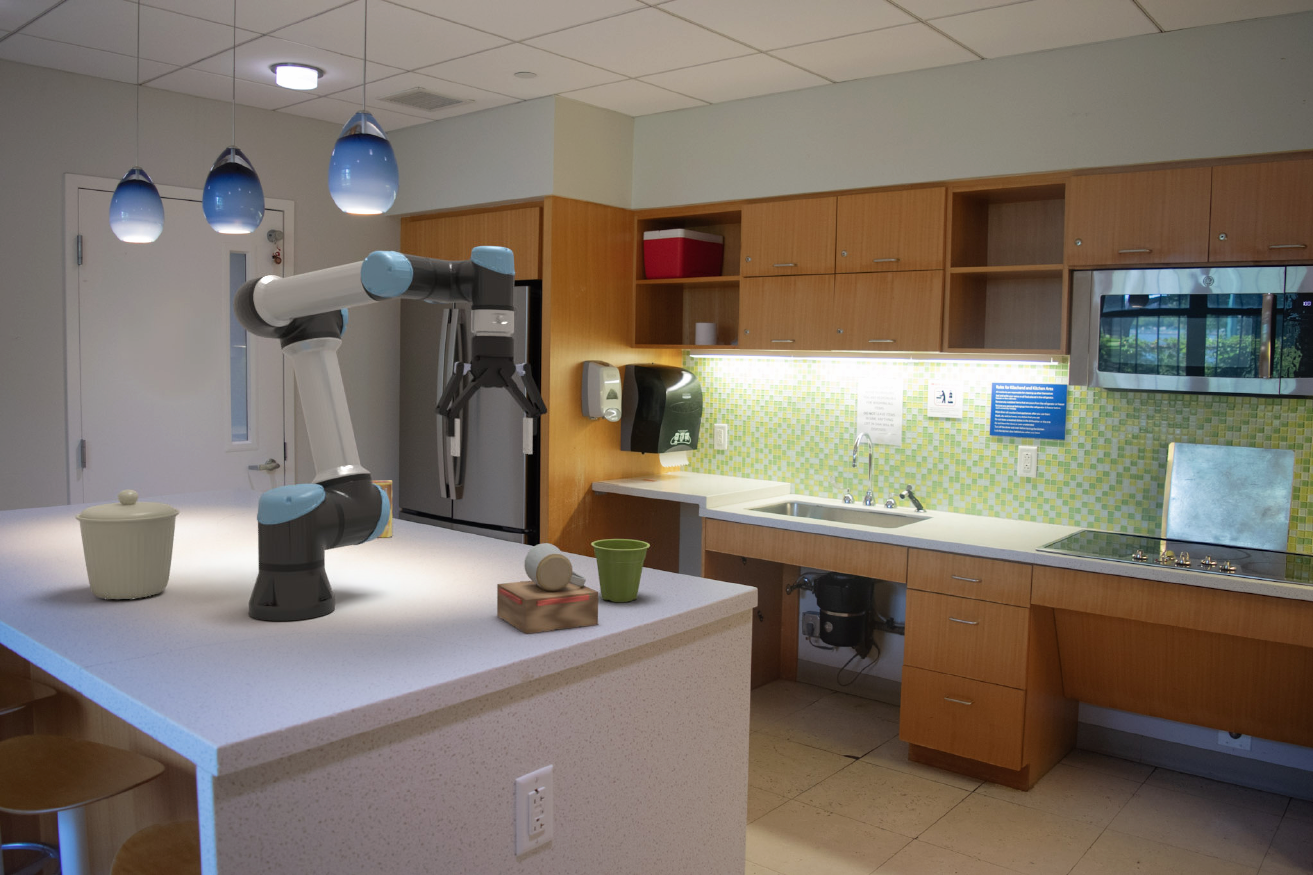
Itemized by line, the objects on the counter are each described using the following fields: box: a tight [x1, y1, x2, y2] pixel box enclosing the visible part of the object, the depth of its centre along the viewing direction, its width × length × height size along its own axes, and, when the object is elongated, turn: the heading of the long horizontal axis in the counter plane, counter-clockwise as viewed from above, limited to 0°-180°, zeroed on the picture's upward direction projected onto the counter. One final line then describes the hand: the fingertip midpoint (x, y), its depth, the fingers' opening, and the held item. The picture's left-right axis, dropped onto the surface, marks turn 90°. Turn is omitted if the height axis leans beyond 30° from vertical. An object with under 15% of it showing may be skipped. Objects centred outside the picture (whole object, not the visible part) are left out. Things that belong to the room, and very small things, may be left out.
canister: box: [75, 489, 180, 600], centre depth 192 cm, size 18×18×21 cm
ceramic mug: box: [524, 542, 587, 591], centre depth 178 cm, size 11×8×8 cm
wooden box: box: [496, 580, 599, 635], centre depth 178 cm, size 14×14×6 cm
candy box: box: [372, 479, 394, 538], centre depth 263 cm, size 9×4×15 cm, turn 103°
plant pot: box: [590, 538, 651, 603], centre depth 196 cm, size 12×12×11 cm
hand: (492, 454), depth 173 cm, fingers open, 13 cm apart
